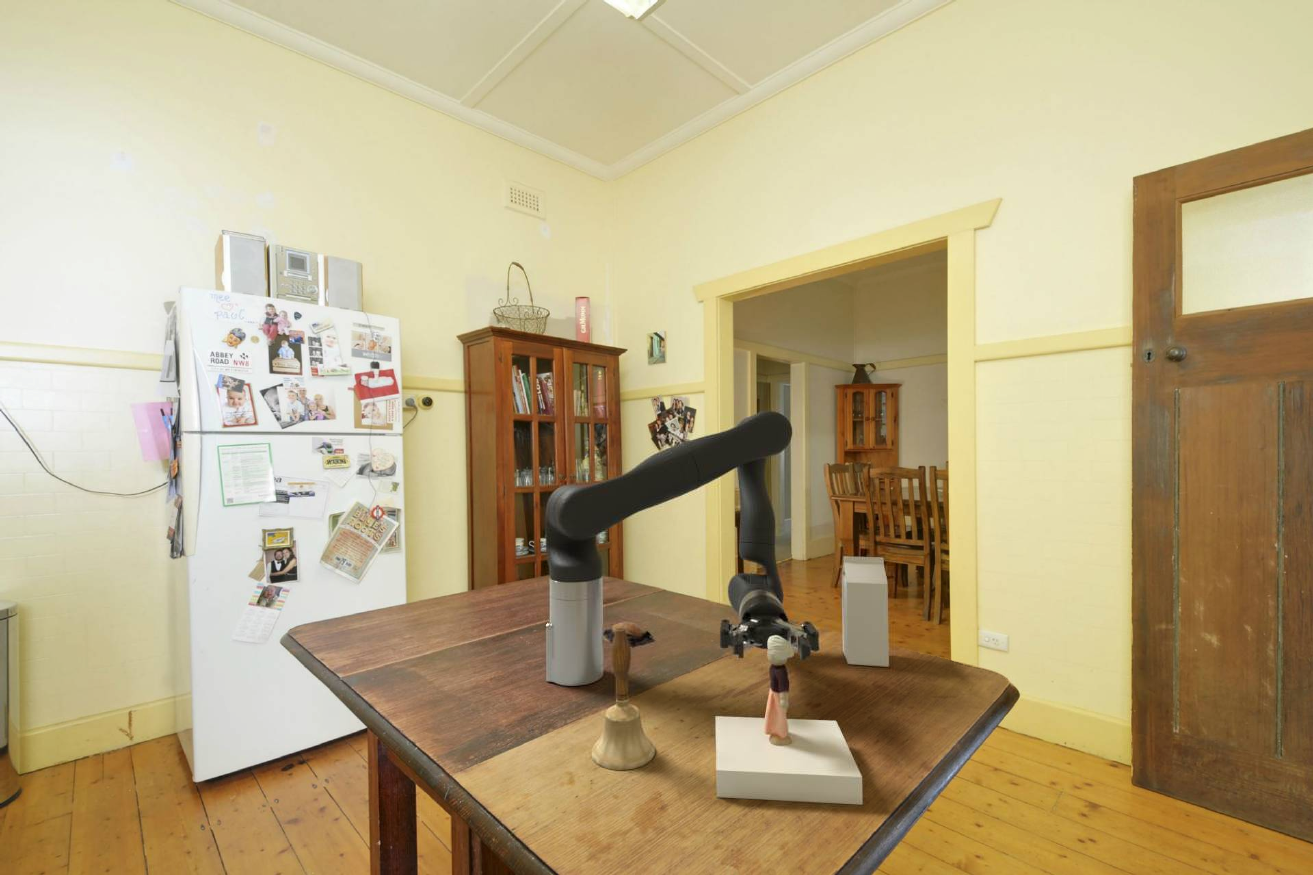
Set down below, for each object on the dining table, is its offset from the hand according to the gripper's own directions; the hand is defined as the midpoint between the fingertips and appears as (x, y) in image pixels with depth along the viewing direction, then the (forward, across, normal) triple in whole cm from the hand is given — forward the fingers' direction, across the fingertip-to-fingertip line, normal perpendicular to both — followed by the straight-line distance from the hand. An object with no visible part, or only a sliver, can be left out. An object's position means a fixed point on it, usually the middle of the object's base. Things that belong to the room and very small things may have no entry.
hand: (772, 652), depth 77 cm
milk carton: (-30, +20, +12) cm, 38 cm away
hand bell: (+6, -20, +12) cm, 24 cm away
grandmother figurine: (+6, 0, +9) cm, 11 cm away
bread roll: (-39, -26, +12) cm, 48 cm away
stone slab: (+8, 0, +11) cm, 14 cm away
